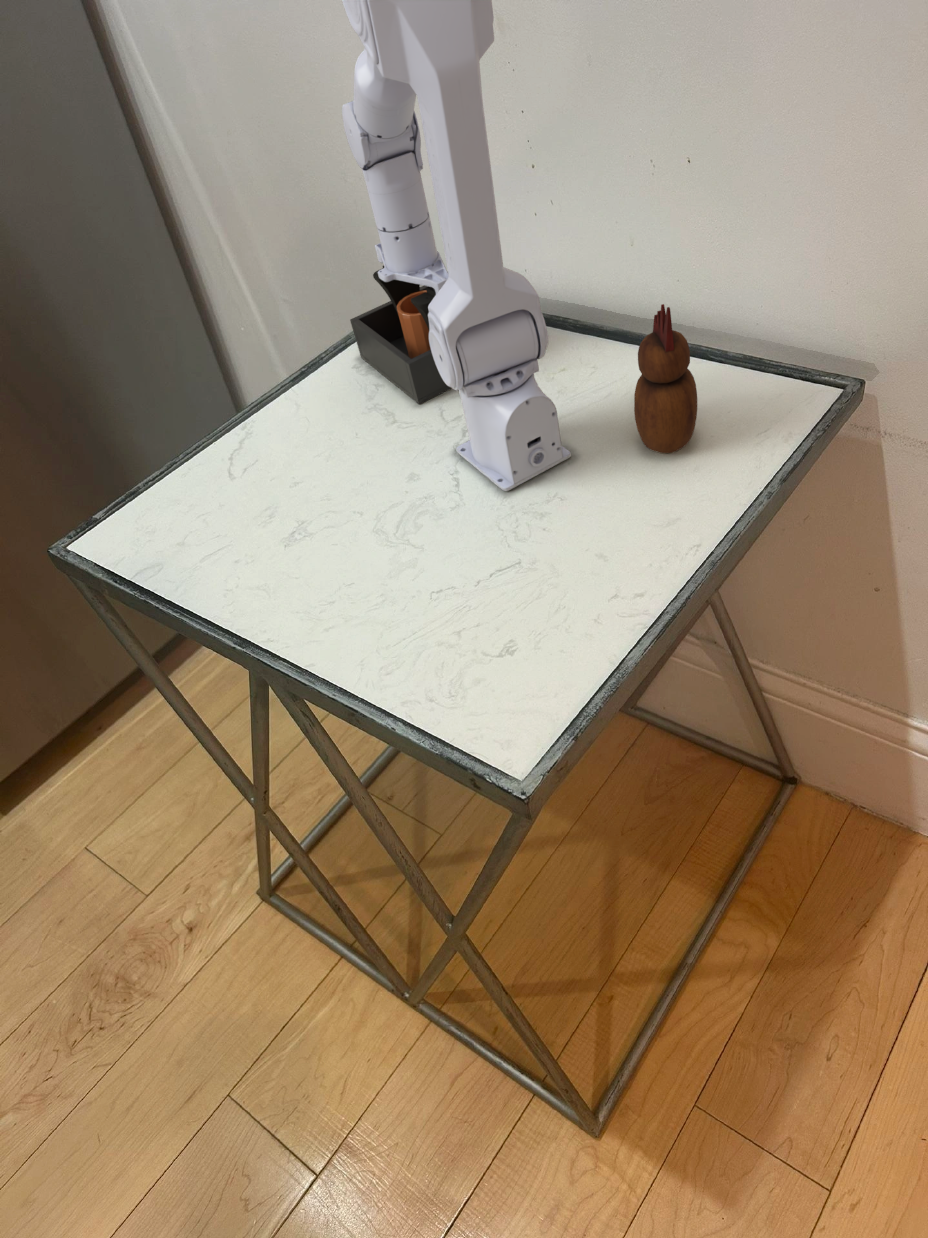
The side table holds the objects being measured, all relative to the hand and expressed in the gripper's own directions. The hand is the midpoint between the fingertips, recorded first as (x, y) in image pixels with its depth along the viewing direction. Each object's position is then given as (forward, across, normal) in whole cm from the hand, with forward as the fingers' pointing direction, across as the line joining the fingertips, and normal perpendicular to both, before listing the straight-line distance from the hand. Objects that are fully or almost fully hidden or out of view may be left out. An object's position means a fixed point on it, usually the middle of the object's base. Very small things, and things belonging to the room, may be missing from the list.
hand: (429, 336), depth 109 cm
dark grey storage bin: (+3, 0, 0) cm, 3 cm away
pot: (+2, 0, 0) cm, 2 cm away
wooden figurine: (+3, +32, +8) cm, 33 cm away
